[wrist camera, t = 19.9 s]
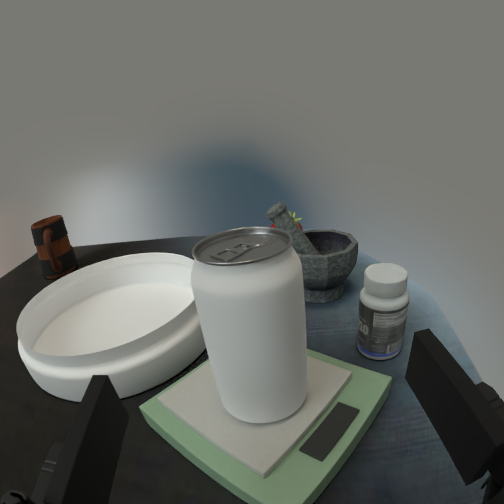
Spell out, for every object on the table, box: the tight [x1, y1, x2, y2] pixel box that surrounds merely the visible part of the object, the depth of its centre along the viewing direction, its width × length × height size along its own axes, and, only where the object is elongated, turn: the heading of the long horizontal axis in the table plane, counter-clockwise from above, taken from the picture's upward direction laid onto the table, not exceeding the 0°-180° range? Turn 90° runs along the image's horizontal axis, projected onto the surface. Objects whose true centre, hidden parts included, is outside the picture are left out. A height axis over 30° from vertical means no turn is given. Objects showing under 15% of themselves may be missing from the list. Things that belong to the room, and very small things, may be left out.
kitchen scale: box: [139, 349, 392, 504], centre depth 23 cm, size 15×14×3 cm
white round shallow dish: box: [16, 253, 206, 402], centre depth 37 cm, size 27×27×6 cm
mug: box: [31, 215, 77, 279], centre depth 57 cm, size 9×12×12 cm
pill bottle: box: [357, 263, 409, 360], centre depth 28 cm, size 5×5×8 cm
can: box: [191, 227, 308, 424], centre depth 20 cm, size 6×6×12 cm
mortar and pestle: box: [266, 202, 358, 303], centre depth 40 cm, size 11×9×12 cm
